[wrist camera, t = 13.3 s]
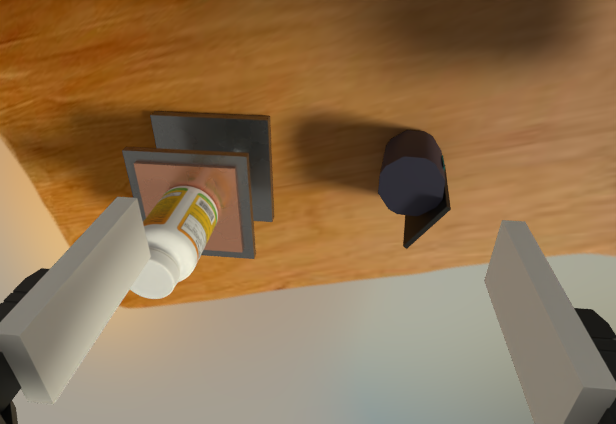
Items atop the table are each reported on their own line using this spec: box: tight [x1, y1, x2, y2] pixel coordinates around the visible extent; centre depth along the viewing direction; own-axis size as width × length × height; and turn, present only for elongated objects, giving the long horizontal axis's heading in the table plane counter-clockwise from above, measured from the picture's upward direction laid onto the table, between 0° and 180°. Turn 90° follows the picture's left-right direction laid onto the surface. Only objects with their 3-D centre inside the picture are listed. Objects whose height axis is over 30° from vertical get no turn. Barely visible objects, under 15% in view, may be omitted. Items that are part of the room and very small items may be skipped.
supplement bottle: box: [130, 186, 218, 299], centre depth 36 cm, size 5×5×10 cm
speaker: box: [378, 130, 451, 249], centre depth 41 cm, size 8×6×10 cm
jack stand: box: [122, 111, 274, 259], centre depth 44 cm, size 12×12×9 cm
